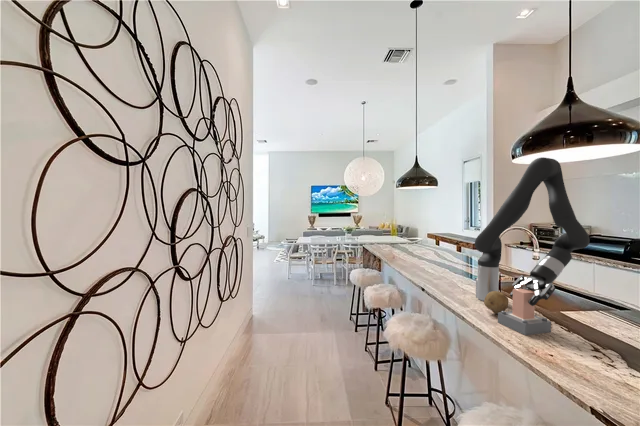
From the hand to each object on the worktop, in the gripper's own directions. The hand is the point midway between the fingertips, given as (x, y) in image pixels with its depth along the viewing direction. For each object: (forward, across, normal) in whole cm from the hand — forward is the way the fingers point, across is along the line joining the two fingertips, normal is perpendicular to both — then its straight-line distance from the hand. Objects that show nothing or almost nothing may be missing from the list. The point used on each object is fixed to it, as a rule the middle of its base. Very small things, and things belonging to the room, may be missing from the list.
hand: (520, 300), depth 112 cm
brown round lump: (+7, -14, +8) cm, 18 cm away
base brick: (+6, 0, +8) cm, 11 cm away
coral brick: (+4, 0, +5) cm, 6 cm away
